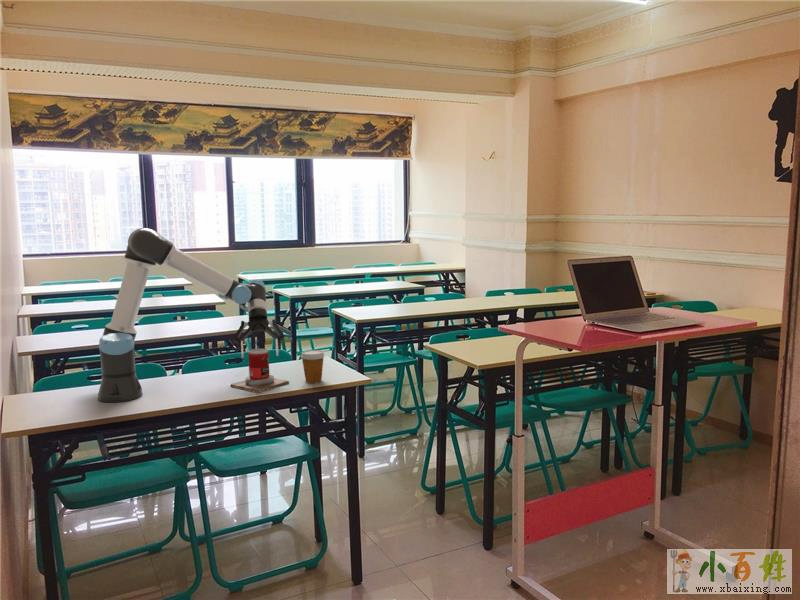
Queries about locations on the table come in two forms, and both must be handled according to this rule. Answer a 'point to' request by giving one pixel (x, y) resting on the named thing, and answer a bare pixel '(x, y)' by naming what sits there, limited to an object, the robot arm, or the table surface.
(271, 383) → the seat plate
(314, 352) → the disposable coffee cup
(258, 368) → the canned food
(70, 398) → the table surface
